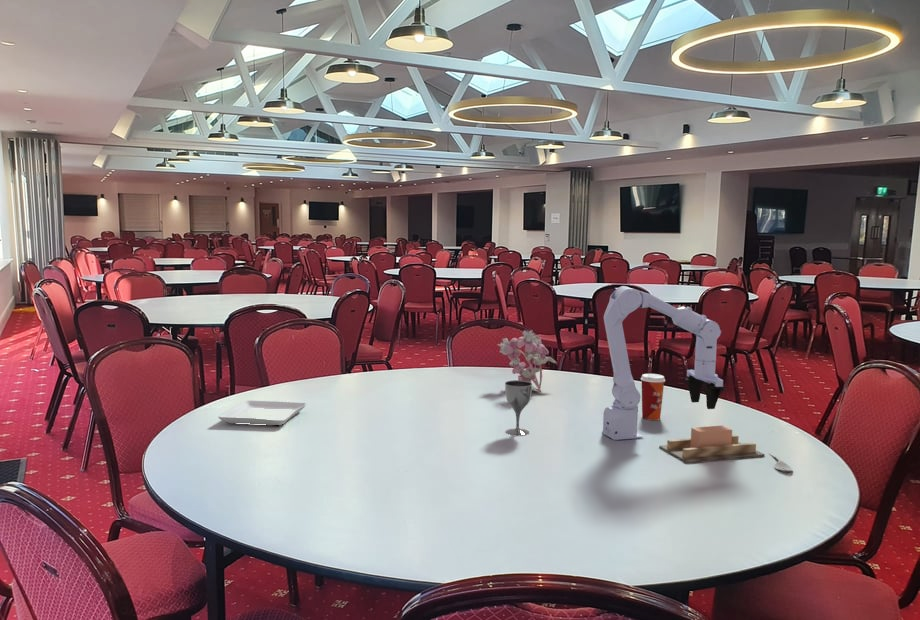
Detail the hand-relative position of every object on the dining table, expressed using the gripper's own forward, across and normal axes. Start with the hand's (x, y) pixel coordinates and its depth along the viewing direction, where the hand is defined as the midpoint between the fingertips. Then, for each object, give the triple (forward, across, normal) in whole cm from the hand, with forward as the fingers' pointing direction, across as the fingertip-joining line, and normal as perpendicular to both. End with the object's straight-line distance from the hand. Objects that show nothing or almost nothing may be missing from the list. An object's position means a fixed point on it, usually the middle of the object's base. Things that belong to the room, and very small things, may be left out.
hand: (702, 405), depth 192 cm
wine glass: (+10, +16, +52) cm, 55 cm away
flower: (+10, +70, +29) cm, 76 cm away
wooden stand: (+9, -13, +6) cm, 17 cm away
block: (+9, -13, +6) cm, 17 cm away
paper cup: (+10, +21, +4) cm, 23 cm away
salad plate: (+10, +48, +126) cm, 135 cm away
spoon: (+10, -23, -7) cm, 26 cm away
